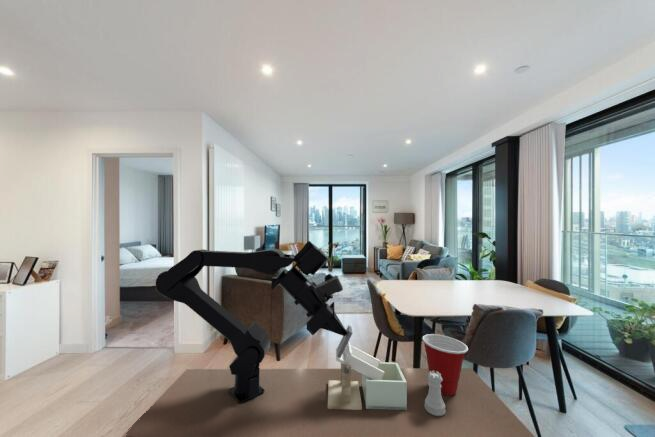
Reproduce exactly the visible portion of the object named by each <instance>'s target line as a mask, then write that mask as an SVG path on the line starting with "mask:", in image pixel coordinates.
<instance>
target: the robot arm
mask: <svg viewBox="0 0 655 437" xmlns="http://www.w3.org/2000/svg"><path fill="white" fill-rule="evenodd" d="M329 260H330V258H329V257H328V255H327V254H326V253H325V252H324V251H323V250H322V249H321V248H319V247H317V246H316V245H315V244H314V243H313V242H312V241H310V240H308V241H307V242H306V243H305V244H304V246H303V247H301V249H300V250H299V251H298V252H297V253H296V254H295V255H294V254H286V253H284V252H283V250H282V249H278V248H273V249H271V248H270V249H264V250H257V251H249V252H248V251H247V252H246V251H228V250H227V251H226V250H208V249H204V248H203V249H198V250H197V249H196V250H193V251H191V252H189V254H188V255H187V256H186V257H184V258H182V260H180V261H179V262H177V263H176V264H174V265H173V266H171V267H170V268H169V269H168V270H165V271H162V272H161V273H159V275H157V277H156V279H155V286H154V287H155V291H157V292H158V294H160V295H162V296H163V297H165V298H167V299H169V300H170V301H175V302H176V303H177V302H178V303H181V304H184V305H186V306H187V307H188V308H189V309H190V310H192V311H193V312H194V313H196V314H197V315H198V316H199V317H200V318H201V319H202V320H204V322H206V323H208V324H209V325H210V326H211V327H213V328H214V329H215V330H216V331H217V332H219V334H221V335H222V336H223V337H225V338H226V339H227V340H228V341H229V343H230V345H231V346H232V349H233V352H234V354H235V355H236V356H235V358H234V359H233V360H232V362H231V363H230V364H229V367H228V368H229V371H230V374H231V375H233V376H234V385H233V387H230V388H228V393H229V394H230V395H231V396H232V397H233V398H234V399H235V400H236V401H237V402H238V403H239V404H242V403H244V402H246V401H249V400H251V399H253V398H256V397H259V396H260V395H262V394H265V389H264V388H263V387H262V386H261V385H260V380H261V379H260V364H261V363H262V362H263V360H264V359H265V357H266V354H267V353H268V351H269V349H270V347H271V338H270V336H269V335H268V330H266V329H263V328H262V327H261V326H260V324H258V323H257V322H253V323H252V324H251V325H248V324H244V323H243V322H242V321H240V320H239V319H238V318H237V317H235V316H234V315H233V314H232V313H231V312H229V311H228V310H227V309H226V308H225V307H223V306H222V305H221V304H220V303H219V302H218V301H216V300H215V299H214V298H212V297H211V296H210V295H209V294H208V293H206V292H205V291H204V290H203V289H202V288H201V286H200V284H199V281H198V279H197V277H196V276H197V275H198V274H199V273H200V272H201V271H202V269H203V268H204V267H218V268H238V269H248V270H251V271H254V272H257V273H261V274H265V275H274V274H277V273H278V272H279V274H278V275H277V276H272V277H271V278H270V282H271V285H270V286H271V287H270V289H271V290H272V291H274V289H276V288H277V287H278V286H280V287H281V288H282V289H283V290H284V291H285V292H286V293H287V294H288V295H289V296H290V297H291V298H292V299H293V300H294V301H293V303H294V305H296V306H298V305H299V306H300V307H301V309H303V310H304V311H305V312H306V314H305V315H306V316H307V321H306V330H307V332H309V333H310V334H311V336H314V335H315V334H317V332H318V331H319V330H320V329H321V330H325V331H328V332H331V333H334V334H337V335H340V336H342V337H343V336H345V335H346V334H347V331H346V329H347V328H345V326H344V325H343V323H342V322H341V320H340V318H339V317H338V315H337V313H336V310H335V301H333V302H332V303H330V304H329V303H328V301H329V300H330V299H331V300H332V299H333V298H334V294H336V293H340V292H341V291H343V290H344V289H343V285H342V282H341V280H340V279H339V277H338V275H334V276H333V274H331V273H327V274H326V275H324V281H321V282H320V283H318V284H317V283H316V282H315V281H310V280H309V279H308V278H307V277H306V276H309V275H311V276H314V275H315V274H316V273H317V272H318V271H319V270H320V269H321V268H322V267H323V266H324V265H325V264H326V263H327V262H328V261H329ZM293 263H295V264H294V265H292V264H293ZM291 265H292V267H291V268H290V269H289V270H288V269H285V268H287V267H290V266H291ZM282 269H283V270H282ZM281 270H282V271H281ZM280 271H281V272H280Z"/></svg>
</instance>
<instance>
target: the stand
mask: <svg viewBox="0 0 655 437" xmlns="http://www.w3.org/2000/svg"><path fill="white" fill-rule="evenodd" d="M351 376H352V368H351V366H350V365H344V364H342V363H340V380H335V379H334V380H331V379H328V384H327V385H328V388H327V391H328V392H327V409H328V410H329V409H330V410H353V411H357V410H358V411H362V410H363V404H362V400H361V393H360V385H359V381H358V380H356V381H355V380H352V378H351Z"/></svg>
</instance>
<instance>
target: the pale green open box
mask: <svg viewBox="0 0 655 437" xmlns="http://www.w3.org/2000/svg"><path fill="white" fill-rule="evenodd" d="M377 368H378V369H380V370H382V371H384V375H383V377H382V380H369V379H370V378H369V377H367V376H365V375H363V374H361V387H362V394H363V399H364V403H365V404H364V405H365V409H367V410H368V409H370V410H398V411H407V408H408V407H407V404H408V403H407V400H408V399H407V398H408V397H407V396H408V394H407V393H408V391H407V388H408V387H407V384H408V382H407V380H406V378H405V376H404V374H403V372H402V369H401V368H400V366H399V364H398V362H383V361H382V362H381V361H380V363H379V365H378V367H377Z"/></svg>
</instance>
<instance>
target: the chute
mask: <svg viewBox="0 0 655 437" xmlns="http://www.w3.org/2000/svg"><path fill="white" fill-rule="evenodd" d="M347 325H348V326H347V327H346V328H345V329H346V331H347V334H346V335H345V336H342V337H341V340H340V342H339V343H338V346H336V348H335V361H336V362H338V363H340V364H341V363H342V364H344V365H350V366H351V370H354V371H356V372H358V373H360V374H361V375H362V374H363V375H365V376H367V377H369V378H371V379H373V380H381V379H382V377H383V375H384V371H382V370H380V369H378V368H377V367H378V365H379V363H380V362H381V360H380V359H378V358H376V357H374V356H372V355H370V354H368V353H367V352H365V351H363V350H361V349H359V348H357V347H356V346H354V345H351V344H352V343H351V342H349V341H350V339H351V337H352V335H353V328H352V326H351V325H350V324H347Z"/></svg>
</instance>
